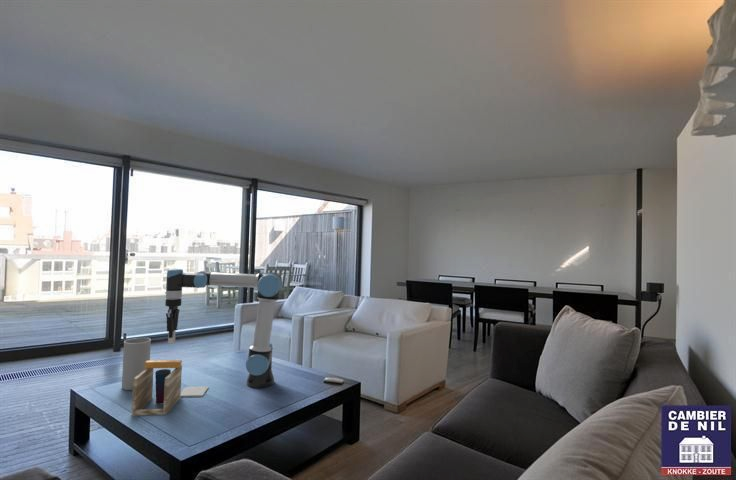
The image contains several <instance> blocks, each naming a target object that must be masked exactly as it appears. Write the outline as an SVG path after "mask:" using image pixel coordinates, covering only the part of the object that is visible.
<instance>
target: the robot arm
mask: <svg viewBox="0 0 736 480" xmlns="http://www.w3.org/2000/svg"><path fill="white" fill-rule="evenodd" d="M166 272H167V273H166V284H165V285H166V289H165V292H164V294H165V297H166V299H165V303H164V304H165V307H168V309H167V312H166V313H165V317H166V332H167V333H168V336H167V344H168V345H174V344H175V343H176V331H178V325H179V314H180V309H179V308H178V307H180V306H182V297H183V288H193V289H194V288H197V289H200V288H201V289H202V288H206V286H215V287H216V286H217V287H218V286H219V287H239V288H254V289H255V288H256V289H257V293H256V294H257V295H256V298H257V300H258V301H259V302H258V308H257V315H256V319H255V320H256V322H255V328H254V334H253V341H252V342H253V343H252V344H251V345H250V346H249V349H248V356H247V359H246V360H245V369H246V371H247V372H248V373H249V374H248V376H247V379H246V386H247V387H249V388H256V389H263V388H264V389H265V388H267V387H272V385H274V383H275V377H274V374H273V370H272V367H273V366H272V364H273V361H272V360H273V349H274V348H273V344H272V343H271V342H270V341H271V336H272V328H273V321H274V315H275V314H274V313H275V308H276V302H278V301H279V299H280V294H281V288H282V285H283V279H282V277H281V275H279V274H278V273H277V272H258V273H257V274H255V273H239V272H238V273H237V272H235V273H234V272H216V271H205V270H201V271H198V272H194V273H193V272H192V273H191V272H188V273H187V272H186V273H185V272H184V270H183V269H181V268H170V269H167V271H166Z"/></svg>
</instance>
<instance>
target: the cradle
mask: <svg viewBox="0 0 736 480" xmlns="http://www.w3.org/2000/svg"><path fill="white" fill-rule="evenodd" d="M154 369H155V368H147V369H145V370H144V371H143V372H141V373H140V374H139V375H137V376H136V377H135V378H134V379H133V390H132V396H131V397H132V399H131V416H155V415H156V416H158V415H163V416H164V415H167V414H169V412H170V411H171V410H172V409H173V407H174V406H175V405H176V404H177V403H178V401H179V400H180V399H181V397H180V395H181V392H182V390H181V389H182V373H183V372H182V370H183V365H182V364H181V367H180V368H173V370H171V373H170V374H169V375H168V376H167V377H166V378H165V385H164V403H163V408H144V407H145V406H146V405H147V404H148V403H149V402H150V401H151V400H152V399H153V386H154ZM143 408H144V409H143Z"/></svg>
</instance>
